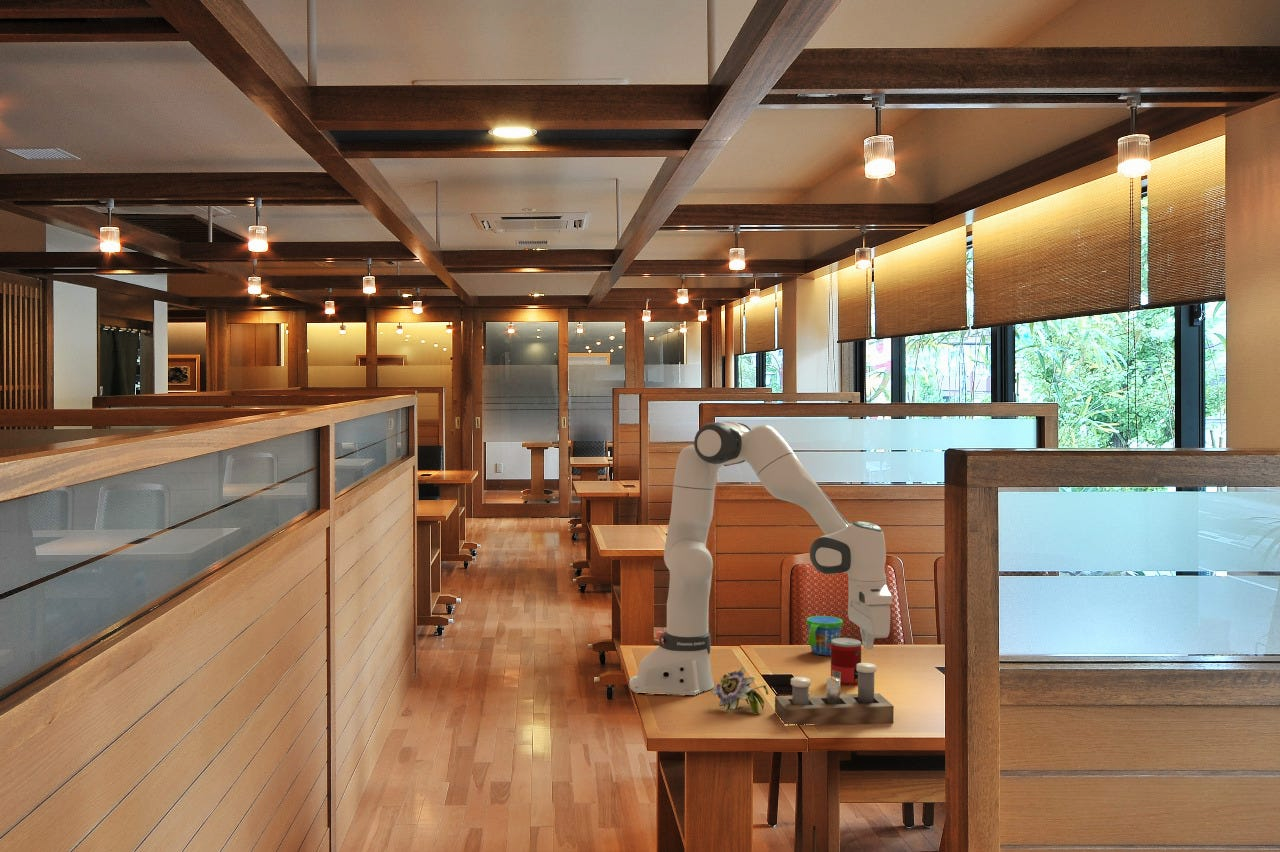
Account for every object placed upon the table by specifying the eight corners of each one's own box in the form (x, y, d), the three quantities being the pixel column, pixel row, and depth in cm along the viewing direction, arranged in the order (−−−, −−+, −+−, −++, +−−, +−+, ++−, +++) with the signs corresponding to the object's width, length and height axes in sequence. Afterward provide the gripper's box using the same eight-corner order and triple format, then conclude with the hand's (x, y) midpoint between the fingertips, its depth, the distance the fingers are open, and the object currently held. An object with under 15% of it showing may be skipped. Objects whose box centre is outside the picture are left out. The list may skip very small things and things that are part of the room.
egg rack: (784, 726, 230) (784, 709, 230) (774, 712, 240) (775, 696, 240) (893, 722, 233) (893, 706, 232) (879, 709, 242) (879, 693, 242)
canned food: (861, 686, 262) (861, 645, 261) (830, 684, 263) (830, 643, 263) (860, 678, 269) (861, 638, 269) (830, 676, 271) (831, 636, 271)
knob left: (793, 721, 233) (793, 682, 233) (788, 715, 238) (788, 677, 237) (812, 720, 233) (812, 682, 233) (807, 714, 238) (807, 676, 238)
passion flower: (726, 733, 241) (700, 689, 244) (753, 714, 249) (727, 672, 252) (755, 717, 234) (727, 672, 237) (781, 698, 242) (754, 655, 245)
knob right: (859, 706, 234) (859, 668, 234) (853, 700, 239) (853, 662, 239) (878, 706, 235) (878, 667, 235) (872, 700, 239) (872, 662, 239)
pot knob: (828, 706, 234) (828, 680, 234) (824, 702, 238) (825, 676, 237) (841, 706, 235) (842, 679, 235) (837, 702, 238) (838, 676, 238)
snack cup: (825, 645, 305) (825, 612, 305) (854, 651, 298) (854, 618, 297) (794, 654, 294) (794, 620, 294) (823, 661, 287) (823, 626, 286)
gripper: (841, 582, 246) (841, 637, 247) (868, 599, 226) (868, 659, 226) (865, 581, 247) (866, 636, 247) (895, 598, 226) (895, 658, 227)
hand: (867, 647), depth 237 cm, fingers closed
